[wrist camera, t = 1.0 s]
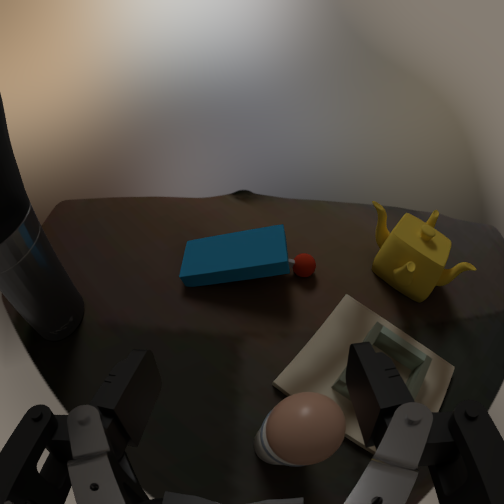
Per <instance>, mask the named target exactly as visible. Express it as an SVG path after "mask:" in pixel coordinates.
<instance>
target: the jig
mask: <svg viewBox="0 0 504 504" xmlns="http://www.w3.org/2000/svg"><path fill="white" fill-rule="evenodd" d="M361 342H370V343H371V345H372V347H373V349H374V351H375V352H376V353H377V352H383V353H384V354H386V355H387V356H388V357H390V358H391V359H392V361H393V363H394V365H395V366H396V369H397V370H398V372H399V373H400V376H401V377H402V379H403V380H404V382H405V384H406V386H407V388H408V390H409V391H410V393H411V395H412V397H413V399H414V401H415V402H417V403H421V404H423V405H425V406H427V407H428V408H429V409H430V410H431V412H438V411H439V409H440V406H441V404H442V401H443V399H444V396H445V394H446V391H447V388H448V386H449V383H450V380H451V377H452V374H453V371H454V368H455V367H454V366H452V365H451V364H449V363H448V362H447V361H445V360H444V359H442V358H441V357H439V356H438V355H436V354H435V353H434V352H432V351H431V350H429V349H428V348H426V347H425V346H423V345H422V344H420V343H419V342H417V341H416V340H414V339H413V338H412V337H410V336H409V335H407V334H406V333H404V332H403V331H401V330H400V329H398V328H397V327H395V326H394V325H392V324H391V323H389V322H388V321H386V320H385V319H383V318H382V317H380V316H379V315H377V314H376V313H374V312H373V311H371V310H370V309H368V308H367V307H365V306H364V305H362V304H361V303H359V302H358V301H356V300H355V299H353V298H352V297H350V296H349V295H347V294H346V295H345V296H344V298H343V299H342V300H341V302H340V303H339V304H338V306H337V307H336V308H335V310H334V311H333V312H332V313H331V315H330V316H329V317H328V319H327V320H326V321H325V322H324V324H323V325H322V326H321V327H320V329H319V330H318V331H317V332H316V333H315V335H314V336H313V337H312V338H311V339H310V341H309V342H308V343H307V344H306V345H305V347H304V348H303V349H302V350H301V351H300V352H299V354H298V355H297V356H296V357H295V358H294V359H293V361H292V362H291V363H290V364H289V365H288V366H287V367H286V368H285V370H284V371H283V372H282V373H281V374H280V375H279V376H278V377H277V378H276V379H275V380H274V382H273V384H272V385H273V386H274V387H276V388H277V389H278V390H280V391H281V392H282V393H283V394H285V395H286V396H287V397H288V396H291V395H293V394H297V393H301V392H315V393H320V394H323V395H325V396H328V397H329V398H331V399H332V400H334V401H335V402H336V403H337V404H338V405H339V407H340V408H341V410H342V411H343V414H344V416H345V420H346V432H345V437H346V438H348V439H349V440H351V441H353V442H354V443H356V444H357V445H359V446H361V447H362V448H364V449H365V450H367V451H369V452H370V453H372V454H375V453H376V448H375V446H372V447H368V448H366V447H365V444H364V440H363V437H362V434H361V430H360V427H359V424H358V420H357V417H356V414H355V411H354V408H353V404H352V401H351V398H350V395H349V392H348V389H347V385H346V368H347V361H348V354H349V347H350V345H351V344H354V343H361Z"/></svg>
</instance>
